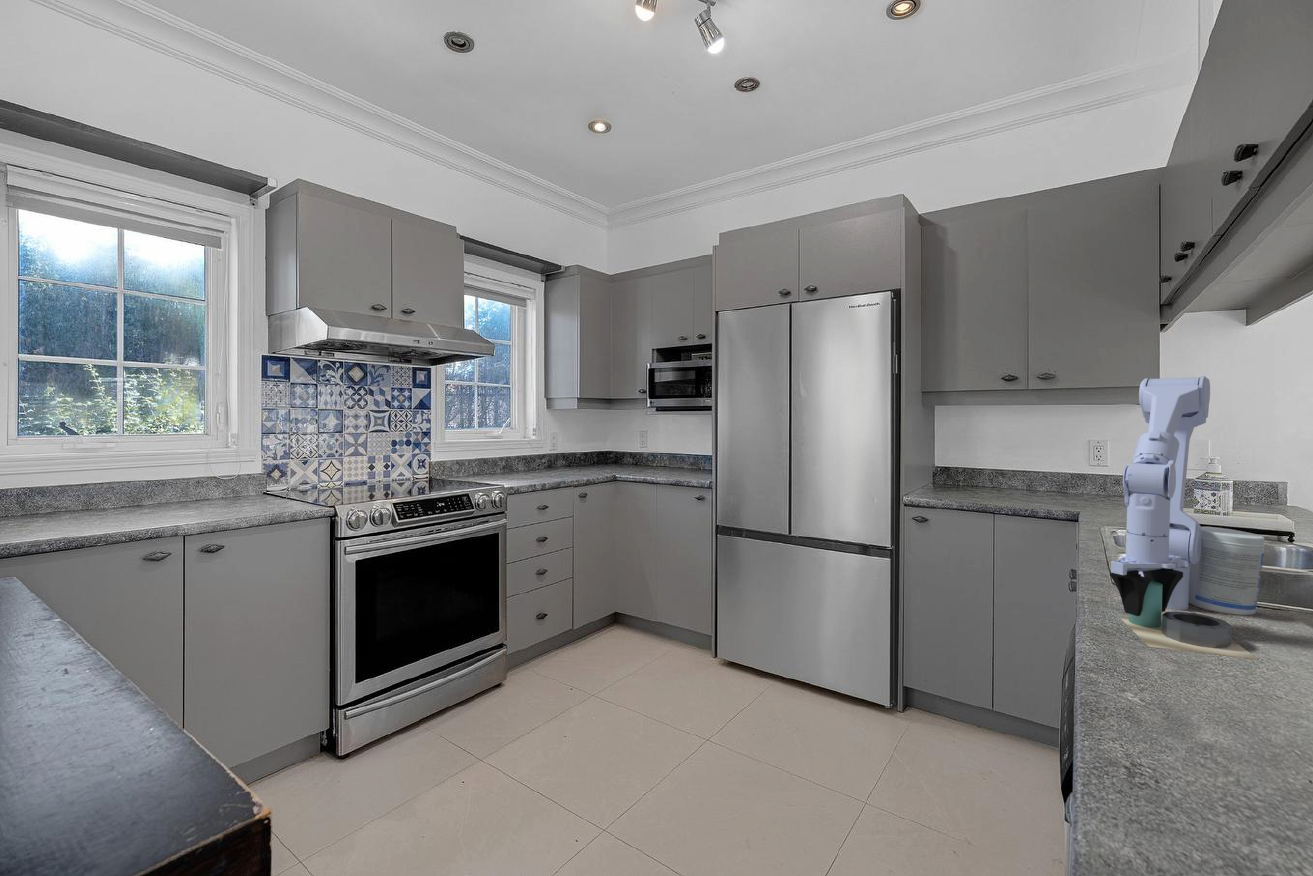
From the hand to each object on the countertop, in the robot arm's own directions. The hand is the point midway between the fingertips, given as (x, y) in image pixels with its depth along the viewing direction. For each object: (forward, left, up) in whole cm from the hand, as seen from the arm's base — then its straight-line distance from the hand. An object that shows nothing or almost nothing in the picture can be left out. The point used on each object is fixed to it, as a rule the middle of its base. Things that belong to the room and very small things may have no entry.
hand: (1144, 612), depth 104 cm
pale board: (+4, +4, -3) cm, 6 cm away
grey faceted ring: (+5, +5, -2) cm, 8 cm away
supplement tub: (-17, +16, -3) cm, 23 cm away
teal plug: (0, 0, -2) cm, 2 cm away
